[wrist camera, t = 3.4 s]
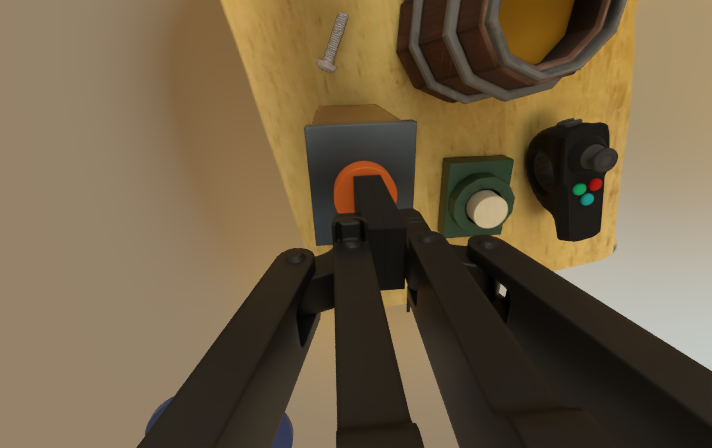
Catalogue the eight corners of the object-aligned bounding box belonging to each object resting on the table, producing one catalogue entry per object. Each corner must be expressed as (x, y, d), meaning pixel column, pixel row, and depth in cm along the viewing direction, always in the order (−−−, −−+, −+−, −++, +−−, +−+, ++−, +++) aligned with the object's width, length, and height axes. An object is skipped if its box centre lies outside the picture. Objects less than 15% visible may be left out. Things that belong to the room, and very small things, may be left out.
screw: (315, 66, 31) (314, 65, 29) (333, 10, 29) (333, 6, 27) (334, 75, 31) (334, 75, 29) (353, 20, 29) (354, 17, 28)
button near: (392, 215, 20) (396, 225, 19) (335, 218, 20) (336, 229, 19) (393, 158, 19) (398, 165, 17) (331, 162, 18) (331, 169, 17)
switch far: (492, 226, 40) (508, 241, 36) (437, 230, 39) (448, 245, 36) (504, 154, 36) (523, 163, 32) (443, 158, 36) (456, 167, 32)
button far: (495, 219, 35) (505, 227, 34) (464, 221, 35) (471, 229, 33) (501, 188, 34) (511, 195, 32) (468, 190, 34) (476, 197, 32)
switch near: (378, 173, 36) (412, 239, 21) (321, 176, 35) (316, 246, 21) (378, 100, 33) (417, 121, 18) (315, 103, 32) (304, 127, 18)
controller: (554, 107, 34) (635, 120, 25) (556, 208, 39) (624, 248, 30) (515, 120, 34) (581, 136, 25) (522, 219, 40) (579, 261, 31)
